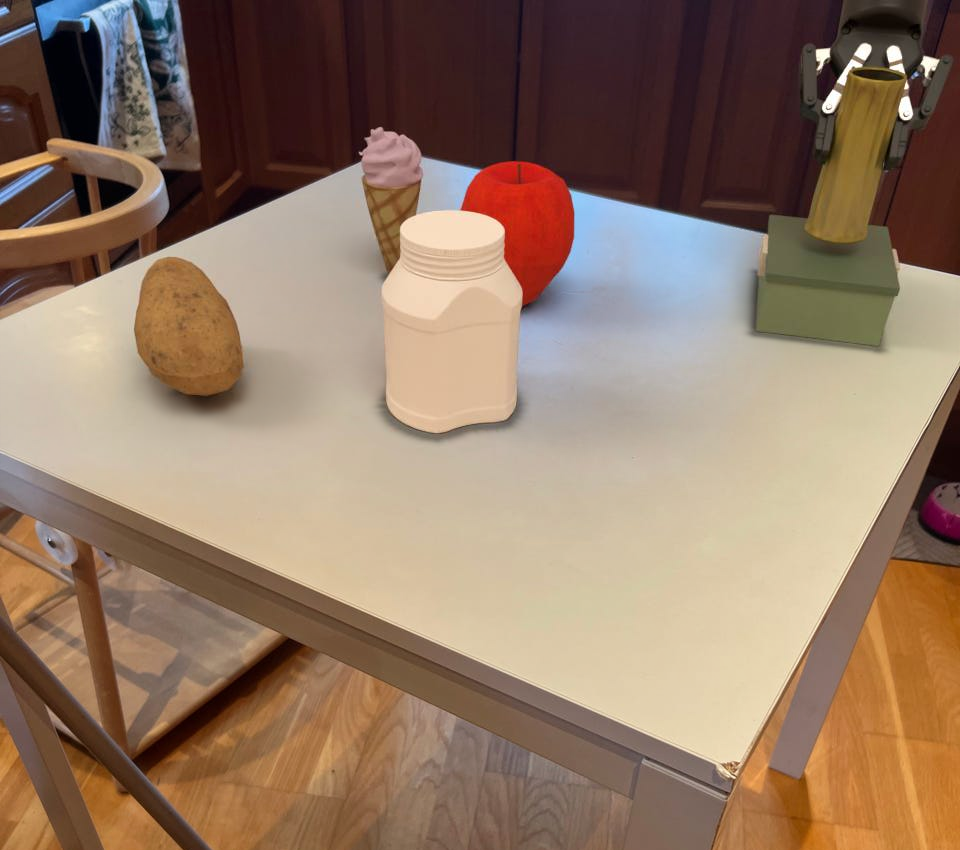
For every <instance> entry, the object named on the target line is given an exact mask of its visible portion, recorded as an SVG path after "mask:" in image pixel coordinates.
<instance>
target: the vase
mask: <svg viewBox="0 0 960 850" xmlns="http://www.w3.org/2000/svg"><path fill="white" fill-rule="evenodd" d="M906 81H907V82H908V80H907V76H906V74H904V73H903V72H900V71H897V70H894V69H889V68H883V67H857V68H853V69H851V70H849V72H848V75H847V79H846V83H845V86H844V90H843V94H842V98H841V102H840V106H839V110H838V112H837V113H836V118H835V124H834V129H833V135H832V140H831V146H830V151H829V155H828V158H827V161H826V163H825V165H824V164H822V167H821V169H820V173H819V177H818V180H817V183H816V186H815V189H814V193H813V197H812V201H811V204H810V208H809V213H808V217H807V221H806V223H805V226H804V229H805V231H806V233H807V234H808V235H809V236H811V237H813V238H815V239H818V240H820V241H824V242H828V243H835V244H853V243H857V242H860V241H862V240H864V239H865V238H866V235H867V227H868V225H869V221H870V217H871V214H872V210H873V207H874V204H875V203H874V202H875V198H876V195H877V191H878V186H879V182H880V180H881V175H882V171H883V166H884V160H885V156H886V152H887V149H888V145H889V141H890V137H891V134H892V131H893V128H894V124H895V121H896V117H897V113H898V110H899V106H900V103H901V100H902V96H903V92H904V89H905V85H906Z"/></svg>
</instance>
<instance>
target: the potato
mask: <svg viewBox="0 0 960 850" xmlns="http://www.w3.org/2000/svg"><path fill="white" fill-rule="evenodd" d="M141 281H142V282H141V285H140V290H139V297H138V304H137V308H136V310H135V317H134V318H135V319H134V325H133V331H134V338H135V344H136V350H137V354H138V356H139V357H140V358H141V360H142V361H143V363H144V365H145V366H146V367H147V369H148V371H149V372H150V373H151V374H152V375H153V376H155V377H156V378H157V379H158V380H160V381H161V383H163V384H164V385H166V386H168V387H170V388H172V389H174V390H175V391H178V392H180V393H182V394H183V395H190V396H191V395H193V396H206V397H208V396H212V395H214V394H219V393H223V392H224V391H229V390H230V389H231V388H232V387H233V385H234V384H235V383H236V382H237V380H238V379H239V378H240V377H241V375H242V373H243V369H244V366H245V365H244V364H245V362H244V356H243V349H242V348H243V347H242V341H241V336H240V335H241V334H240V330H239V326H238V322H237V320H236V318H235V316H234V313H233V311H232V309H231V307H230V305H229V303H228V301H227V299H226V298H225V297H224V296H223V295H222V293H220V292H219V290H218V289H217V288H216V286H215V285H214V283H213V282H212V280H211V279H210V278H209V277H208V276H207V275H206V273H205V272H204V271H203V270H202V268H200V267H198V266H197V265H196V264H194V263H193V262H192V261H190V260H187V259H183V258H180V257H176V256H166V257H163V258H158V259H157V260H156V261H155V262H154V263H153V264H152V265H151V266H150V267H149V268H148V269H147V270H146V273H145V275H144V277H143V279H142V280H141Z"/></svg>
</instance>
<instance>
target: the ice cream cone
mask: <svg viewBox="0 0 960 850" xmlns="http://www.w3.org/2000/svg"><path fill="white" fill-rule="evenodd" d="M364 141H365V142H366V143H367V147H365V148H364V149H363V150H362V151H358V154H359V155H360V156H362V158H361V162H360V163H361V169H362V172H363V175H362V177H361V183H362V188H363V192H364V193H363V194H364V197H365V201H366V206H367V209H368V210H367V211H368V213H369V217H370V220H371V225H372V228H373V231H374V234H375V238H376V241H377V244H378V248H379V250H380V251H379V252H380V253H381V256H382V260H383V263H384V266H385V269H386V272H387V276H388V275H389V274H390V272H391V271H392V269H393V268H394V266H395V265H396V263H397V262H398V260H399V259H400V252H401V249H400V244H401V243H400V227H401V225H402V224H403V222H404V221H406V220H407V219H409V218H411V217H413V216H415V215H417V211H418V206H419V200H420V199H419V198H420V193H421V186H422V179H423V177H424V171H423V168H422V167H421V166H420V165H421V162H422V157H423V156H422V153H421V150H420V148H419V147H418V145H417V143H415V141H414V140H412V139H411V138H408V137H407V136H406V135H405V134H400V135H398V133H396V132H395V131H384V128H383V127H382V126H380V127H377V128H375V129H373V128H372V129H370V136H368V137H364Z"/></svg>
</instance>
